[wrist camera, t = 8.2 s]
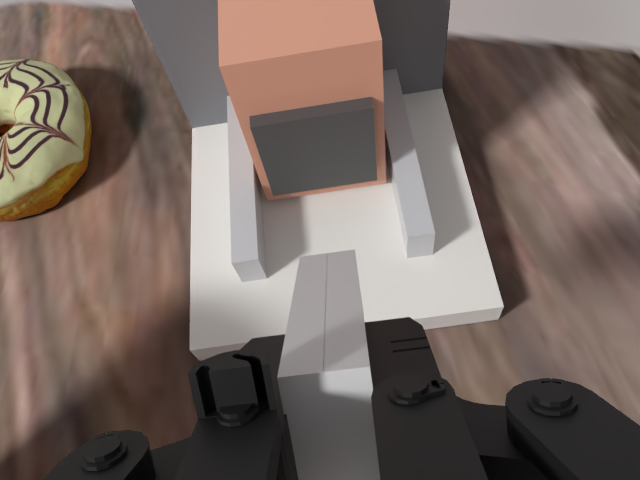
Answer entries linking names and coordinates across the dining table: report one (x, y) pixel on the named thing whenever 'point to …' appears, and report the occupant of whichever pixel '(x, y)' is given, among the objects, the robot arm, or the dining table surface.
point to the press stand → (327, 193)
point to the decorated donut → (39, 137)
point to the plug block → (306, 91)
